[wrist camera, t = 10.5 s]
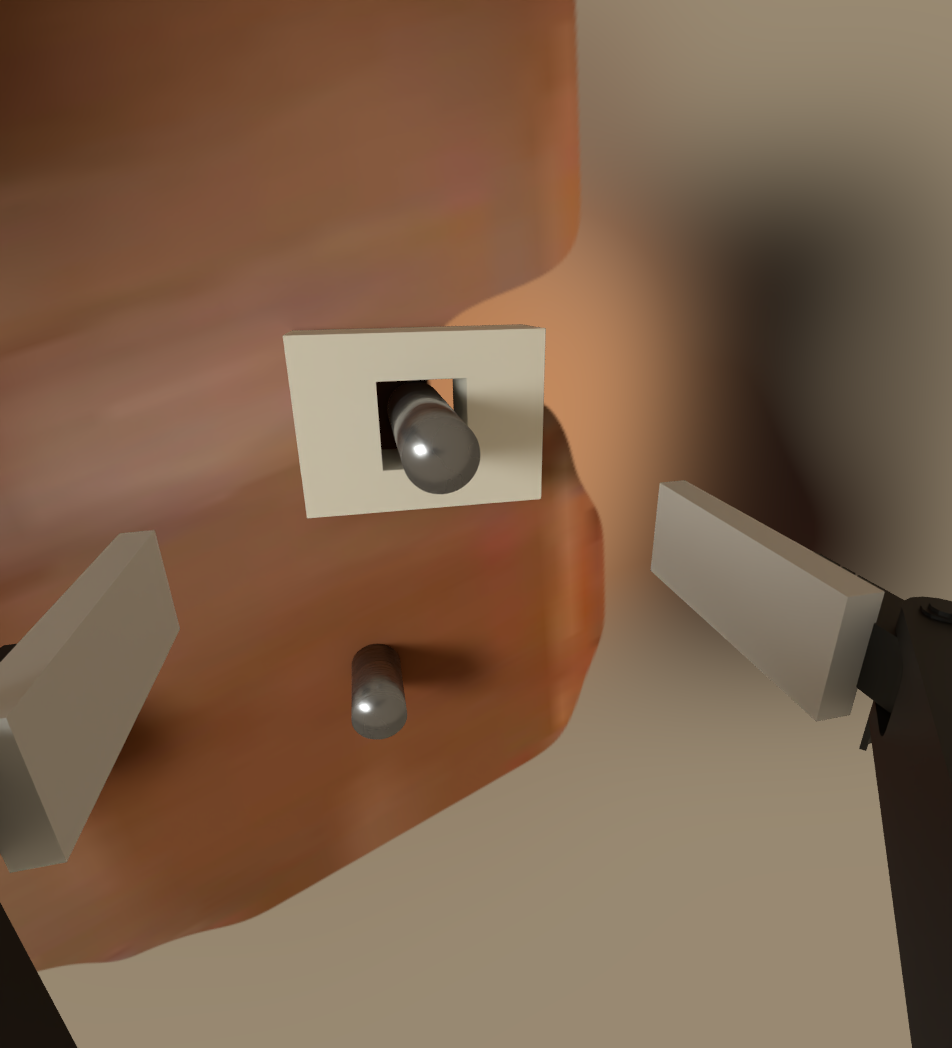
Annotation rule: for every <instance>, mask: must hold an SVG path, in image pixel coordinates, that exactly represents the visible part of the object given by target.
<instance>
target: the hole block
mask: <svg viewBox="0 0 952 1048" xmlns="http://www.w3.org/2000/svg"><path fill="white" fill-rule="evenodd" d="M545 332H546V330H545V328H540V327H534V326H528V325H484V326H483V325H482V326H445V327H407V328H370V329H332V330H294V331H290V332H289V333H287V334H285V335H283V341H284V349H285V356H286V363H287V371H288V378H289V386H290V393H291V401H292V408H293V416H294V423H295V431H296V438H297V446H298V453H299V461H300V468H301V476H302V483H303V491H304V498H305V505H306V513H307V518H316V517H328V516H341V515H353V514H365V513H377V512H389V511H401V510H413V509H425V508H437V507H449V506H461V505H473V504H485V503H498V502H510V501H522V500H534V499H541V477H542V441H543V404H544V367H545ZM430 379H453V404H454V411H455V412H456V414H457V415H458V416H459V417H460V418H461V419H462V420H463V421H464V423H465V424H466V425H467V426H468V427H469V428H470V429H471V430H472V432H473V433H474V434H475V436H476V438H477V440H478V443H479V447H480V463H479V466H478V469H477V471H476V473H475V475H474V477H473V478H472V479H471V480H470V482H469V483H467V484H466V485H465V486H464V487H462V488H461V489H459V490H457V491H455V492H452V493H448V494H432V493H428V492H425V491H423V490H421V489H419V488H418V487H416V486H415V485H414V484H413V483H412V482H411V481H410V480H409V478H408V477H407V475H406V473H405V471H404V468H403V465H402V462H401V458H400V455H399V451H398V449H383V450H381V441H380V429H379V416H378V403H377V391H376V382H383V381H407V380H430Z"/></svg>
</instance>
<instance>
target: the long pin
mask: <svg viewBox="0 0 952 1048" xmlns="http://www.w3.org/2000/svg"><path fill="white" fill-rule="evenodd" d="M387 413H388V417H389V421H390V424H391V428H392V431H393V434H394V438H395V441H396V445H397V448H398V451H399V455H400V458H401V462H402V465H403V468H404V471H405V473H406V475H407V477H408V478H409V480H410V481H411V482H412V483H413V484H414V485H415V486H416V487H418V488H419V489H421V490H423V491H425V492H428V493H432V494H448V493H452V492H455V491H457V490H459V489H461V488H462V487H464V486H465V485H466V484H467V483H469V482H470V480H471V479H472V478H473V477H474V475H475V473H476V471H477V469H478V466H479V463H480V447H479V443H478V440H477V438H476V436H475V434H474V433H473V432H472V430H471V429H470V428H469V427H468V426H467V425H466V424H465V423H464V421H463V420H462V419H461V418H460V417H459V416H458V415H457V414H456V412H455V411H454V410H453V409H452V408H451V407H450V406H449V405H448V404H447V402H446V401H445V400H444V399H443V398H442V397H441V396H440V395H439V394H438V392H437V391H436V390H435V389H434V388H433V387H431V386H430V385H428V384H426V383H423V382H418V381H412V382H407V383H404V384H402V385H400V386H399V387H398V388H396V389H395V390H394V392H393V393H392V394H391V396H390V398H389V401H388V406H387Z"/></svg>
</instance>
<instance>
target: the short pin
mask: <svg viewBox="0 0 952 1048" xmlns="http://www.w3.org/2000/svg"><path fill="white" fill-rule="evenodd" d="M406 719H407V710H406V702H405V695H404V687H403V680H402V672H401V664H400V658H399V655H398V654H397V652H396V651H395V650H394V649H393V648H391V647H389V646H387V645H384V644H372V645H368V646H366V647H364V648H362V649H361V650H359V651H358V652H357V653H356V655H355V656H354V658H353V661H352V725H353V727H354V729H355V730H356V731H357V732H358V733H359V734H360V735H362V736H363V737H366V738H369V739H384V738H388V737H390V736H392V735H394V734H396V733H397V732H398V731H400V730H401V728H402V727H403V726H404V724H405V722H406Z"/></svg>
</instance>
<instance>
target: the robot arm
mask: <svg viewBox="0 0 952 1048" xmlns="http://www.w3.org/2000/svg"><path fill="white" fill-rule="evenodd" d="M651 571H652V572H653V573H654V574H655V575H656V576H657V577H658V578H659V579H661V580H662V581H663V582H664V583H665V584H666V585H667V586H668V587H669V588H670V589H672V590H673V591H674V592H675V593H676V594H677V595H678V596H679V597H680V598H681V599H682V600H684V601H685V602H686V603H687V604H688V605H689V606H690V607H691V608H692V609H694V610H695V611H696V612H697V613H698V614H699V615H700V616H701V617H702V618H703V619H705V621H707V622H708V623H709V624H710V625H711V626H712V627H713V628H714V629H715V630H716V631H718V632H719V633H720V634H721V635H722V636H723V637H724V638H725V639H727V641H729V642H730V643H731V644H732V645H733V646H734V647H735V648H736V649H737V650H739V651H740V652H741V653H742V654H743V655H744V656H745V657H746V658H747V659H748V660H749V661H750V662H752V663H753V664H754V665H755V666H756V667H757V668H758V669H759V670H760V671H761V672H763V673H764V674H765V675H766V676H767V677H768V678H769V679H770V680H771V681H772V682H773V683H775V684H776V685H777V686H778V687H779V688H780V689H781V690H782V691H783V692H785V693H786V694H787V695H788V696H789V697H790V698H791V699H792V700H793V701H794V702H795V703H797V704H798V705H799V706H800V707H801V708H802V709H803V710H804V711H805V712H806V713H808V714H809V715H810V716H811V717H812V718H813V719H814V720H815V721H821V720H826V719H831V718H837V717H841V716H847V715H850V713H851V710H852V706H853V702H854V699H855V695H856V692H857V688H858V689H859V690H861V691H862V692H863V693H864V694H866V695H867V696H869V697H870V698H871V699H872V700H873V704H872V707H871V711H870V714H869V718H868V721H867V724H866V727H865V731H864V734H863V738H862V741H861V745H860V749H862V750H865V751H866V749H867V746H868V744H870V743H872V748H873V755H874V762H875V770H876V778H877V786H878V793H879V801H880V808H881V815H882V823H883V831H884V839H885V846H886V853H887V861H888V868H889V876H890V884H891V891H892V898H893V907H894V914H895V921H896V929H897V936H898V944H899V952H900V960H901V967H902V975H903V982H904V989H905V997H906V1005H907V1013H908V1019H909V1028H910V1035H911V1043H912V1048H952V601H948V600H943V599H939V598H930V597H912V598H909V599H907V600H903V599H901V598H899V597H897V596H895V595H894V594H892V593H890V592H888V591H886V590H885V589H883V588H881V587H879V586H877V585H876V584H874V583H872V582H870V581H868V580H867V579H865V578H863V577H861V576H859V575H858V576H856V575H855V573H854V572H852V571H850V570H848V569H847V568H845V567H840V565H839V564H838V563H836V562H834V561H832V560H830V559H828V558H827V557H825V556H823V555H821V554H818V553H815V552H812V551H811V550H809V549H807V548H805V547H803V546H802V545H800V544H798V543H796V542H794V541H793V540H791V539H789V538H787V537H785V536H784V535H782V534H780V533H778V532H776V531H775V530H773V529H771V528H769V527H767V526H766V525H764V524H762V523H760V522H758V521H757V520H755V519H753V518H751V517H749V516H748V515H746V514H744V513H742V512H741V511H739V510H737V509H735V508H733V507H731V506H730V505H728V504H726V503H724V502H723V501H720V500H719V499H717V498H715V497H714V496H712V495H710V494H708V493H706V492H705V491H703V490H701V489H699V488H697V487H696V486H694V485H692V484H690V483H688V482H687V481H674V482H663V483H660V487H659V496H658V506H657V515H656V524H655V534H654V543H653V553H652V563H651ZM179 630H180V627H179V624H178V620H177V616H176V612H175V608H174V604H173V600H172V596H171V592H170V588H169V584H168V581H167V577H166V573H165V569H164V565H163V561H162V557H161V553H160V549H159V545H158V541H157V538H156V534H155V530H152V531H141V532H130V533H120V534H119V535H118V536H117V537H116V538H115V539H114V540H113V541H112V542H111V543H110V544H109V545H108V547H107V548H106V549H105V550H104V551H103V552H102V553H101V554H100V555H99V556H98V557H97V558H96V559H95V561H94V562H93V563H92V564H91V565H90V566H89V567H88V568H87V569H86V570H85V571H84V572H83V574H82V575H81V576H80V577H79V578H78V579H77V580H76V581H75V582H74V583H73V584H72V585H71V587H70V588H69V589H68V590H67V591H66V592H65V593H64V594H63V595H62V596H61V597H60V598H59V599H58V601H57V602H56V603H55V604H54V605H53V606H52V607H51V608H50V609H49V610H48V611H47V612H46V614H45V615H44V616H43V617H42V618H41V619H40V620H39V621H38V622H37V623H36V624H35V625H34V626H33V628H32V629H31V630H30V631H29V632H28V633H27V634H26V635H25V636H24V637H23V638H22V639H21V641H20V642H19V643H18V644H11V645H4V646H2V647H1V648H0V853H1V855H2V857H3V859H4V861H5V864H6V866H7V868H8V870H9V872H10V873H11V872H16V871H22V870H27V869H32V868H38V867H43V866H48V865H54V864H59V863H64V862H67V860H68V858H69V856H70V854H71V852H72V850H73V848H74V846H75V844H76V842H77V840H78V838H79V836H80V834H81V832H82V829H83V827H84V825H85V823H86V821H87V819H88V817H89V815H90V813H91V811H92V809H93V807H94V805H95V803H96V801H97V799H98V797H99V794H100V792H101V790H102V788H103V786H104V784H105V782H106V780H107V778H108V776H109V774H110V772H111V770H112V768H113V766H114V764H115V762H116V759H117V757H118V755H119V753H120V751H121V749H122V747H123V745H124V743H125V741H126V739H127V737H128V735H129V733H130V731H131V729H132V727H133V724H134V722H135V720H136V718H137V716H138V714H139V712H140V710H141V708H142V706H143V704H144V702H145V700H146V698H147V696H148V694H149V692H150V689H151V687H152V685H153V683H154V681H155V679H156V677H157V675H158V673H159V671H160V669H161V667H162V665H163V663H164V661H165V659H166V657H167V654H168V652H169V650H170V648H171V646H172V644H173V642H174V640H175V638H176V636H177V634H178V632H179ZM0 1048H77V1046H76V1044H75V1042H74V1041H73V1039H72V1037H71V1035H70V1033H69V1031H68V1029H67V1027H66V1025H65V1024H64V1022H63V1020H62V1018H61V1016H60V1014H59V1012H58V1010H57V1009H56V1007H55V1005H54V1003H53V1001H52V999H51V997H50V995H49V993H48V992H47V990H46V988H45V986H44V984H43V983H42V980H41V978H40V977H39V975H38V973H37V971H36V969H35V967H34V965H33V963H32V961H31V960H30V958H29V956H28V954H27V952H26V950H25V948H24V946H23V945H22V943H21V941H20V939H19V937H18V935H17V933H16V931H15V930H14V928H13V926H12V924H11V922H10V920H9V918H8V916H7V914H6V913H5V911H4V909H3V907H2V905H1V903H0Z"/></svg>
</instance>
